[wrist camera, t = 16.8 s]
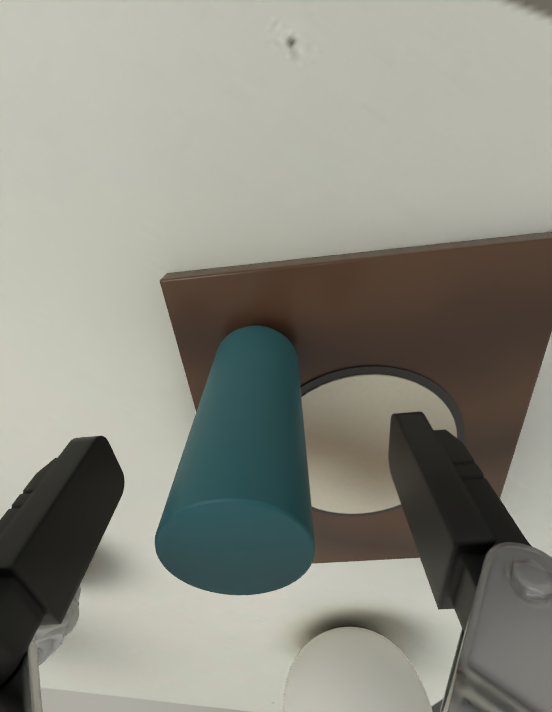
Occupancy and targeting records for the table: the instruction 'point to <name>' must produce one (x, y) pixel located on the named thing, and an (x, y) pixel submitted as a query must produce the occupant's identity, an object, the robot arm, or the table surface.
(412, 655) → the table surface
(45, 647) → the grey sculpted head figurine
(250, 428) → the teal cylinder
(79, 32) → the table surface
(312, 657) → the piggy bank
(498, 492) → the wooden board with hole
